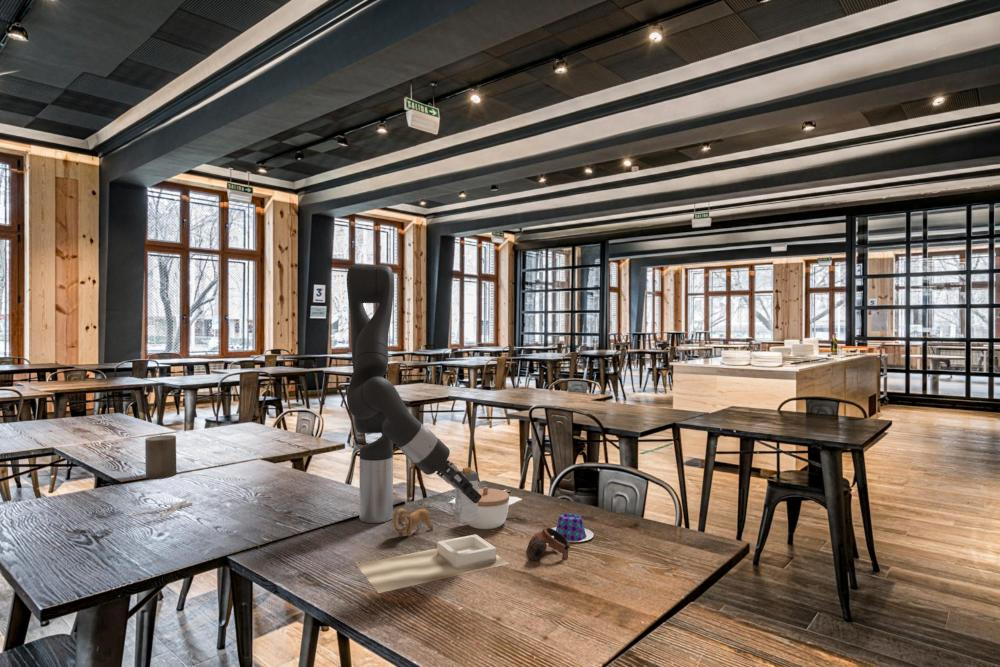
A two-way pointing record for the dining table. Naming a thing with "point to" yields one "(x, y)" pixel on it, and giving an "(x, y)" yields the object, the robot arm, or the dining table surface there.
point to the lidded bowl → (491, 509)
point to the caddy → (466, 551)
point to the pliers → (171, 510)
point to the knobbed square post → (466, 499)
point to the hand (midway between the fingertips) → (474, 497)
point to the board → (414, 570)
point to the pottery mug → (541, 538)
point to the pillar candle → (160, 456)
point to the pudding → (572, 528)
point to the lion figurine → (411, 521)
